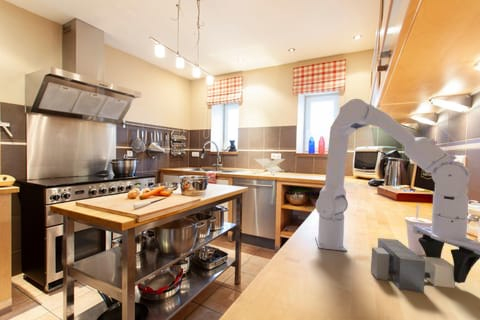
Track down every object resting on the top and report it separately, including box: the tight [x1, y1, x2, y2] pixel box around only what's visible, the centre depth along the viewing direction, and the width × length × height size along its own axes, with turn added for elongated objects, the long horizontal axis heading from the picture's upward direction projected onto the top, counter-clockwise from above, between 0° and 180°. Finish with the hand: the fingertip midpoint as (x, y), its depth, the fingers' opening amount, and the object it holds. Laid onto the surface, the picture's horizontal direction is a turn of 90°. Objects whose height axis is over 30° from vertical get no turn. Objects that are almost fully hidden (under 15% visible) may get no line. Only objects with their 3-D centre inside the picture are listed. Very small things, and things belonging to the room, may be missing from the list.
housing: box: [377, 237, 426, 293], centre depth 52 cm, size 12×4×6 cm, turn 168°
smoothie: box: [404, 204, 432, 256], centre depth 65 cm, size 6×6×14 cm
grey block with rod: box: [370, 246, 456, 289], centre depth 51 cm, size 4×16×6 cm, turn 81°
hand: (446, 275), depth 50 cm, fingers closed on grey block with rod, 4 cm apart
